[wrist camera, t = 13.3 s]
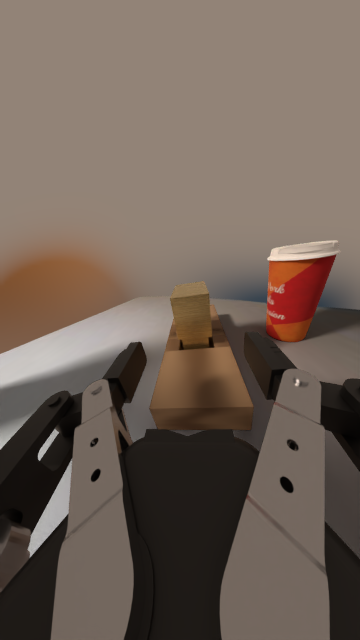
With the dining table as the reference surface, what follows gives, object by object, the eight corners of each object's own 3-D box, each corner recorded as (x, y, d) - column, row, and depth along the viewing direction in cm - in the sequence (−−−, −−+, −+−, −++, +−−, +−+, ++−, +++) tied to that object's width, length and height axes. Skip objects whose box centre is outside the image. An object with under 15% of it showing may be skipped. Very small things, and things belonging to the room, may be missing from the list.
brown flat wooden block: (157, 429, 14) (149, 408, 13) (178, 321, 36) (176, 309, 34) (250, 429, 13) (253, 406, 11) (214, 317, 34) (213, 304, 33)
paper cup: (261, 320, 30) (269, 247, 24) (309, 325, 26) (333, 238, 20) (257, 341, 24) (267, 251, 18) (319, 351, 20) (358, 240, 14)
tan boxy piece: (183, 366, 21) (170, 298, 17) (185, 340, 28) (175, 285, 23) (214, 364, 21) (209, 293, 16) (208, 338, 27) (203, 281, 22)
